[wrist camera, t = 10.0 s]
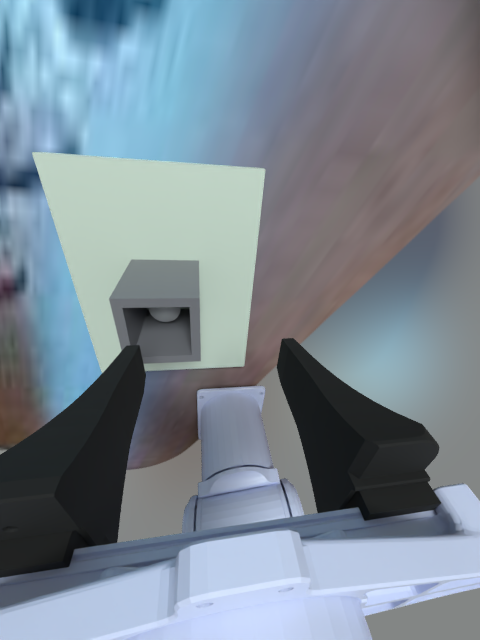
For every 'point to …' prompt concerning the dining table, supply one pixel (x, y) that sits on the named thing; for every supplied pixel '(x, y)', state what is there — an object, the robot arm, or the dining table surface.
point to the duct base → (158, 240)
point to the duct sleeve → (159, 291)
